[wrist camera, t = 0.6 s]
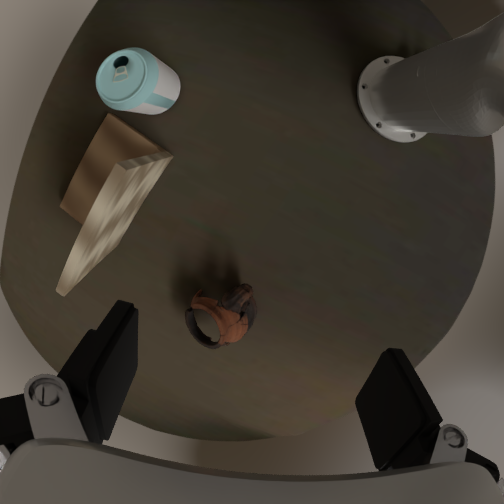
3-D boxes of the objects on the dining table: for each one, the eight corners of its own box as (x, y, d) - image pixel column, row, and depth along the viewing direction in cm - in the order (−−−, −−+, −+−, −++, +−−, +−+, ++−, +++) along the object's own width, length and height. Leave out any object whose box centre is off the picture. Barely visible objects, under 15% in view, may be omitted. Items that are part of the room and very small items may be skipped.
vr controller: (245, 337, 50) (215, 364, 43) (205, 299, 52) (171, 321, 45) (282, 292, 43) (252, 320, 36) (234, 249, 45) (197, 268, 39)
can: (122, 92, 35) (78, 82, 24) (158, 56, 33) (124, 31, 22) (154, 125, 37) (117, 123, 26) (192, 88, 35) (167, 70, 24)
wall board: (112, 113, 36) (44, 109, 21) (173, 156, 39) (126, 170, 24) (64, 204, 41) (-2, 238, 26) (117, 245, 43) (63, 296, 28)
